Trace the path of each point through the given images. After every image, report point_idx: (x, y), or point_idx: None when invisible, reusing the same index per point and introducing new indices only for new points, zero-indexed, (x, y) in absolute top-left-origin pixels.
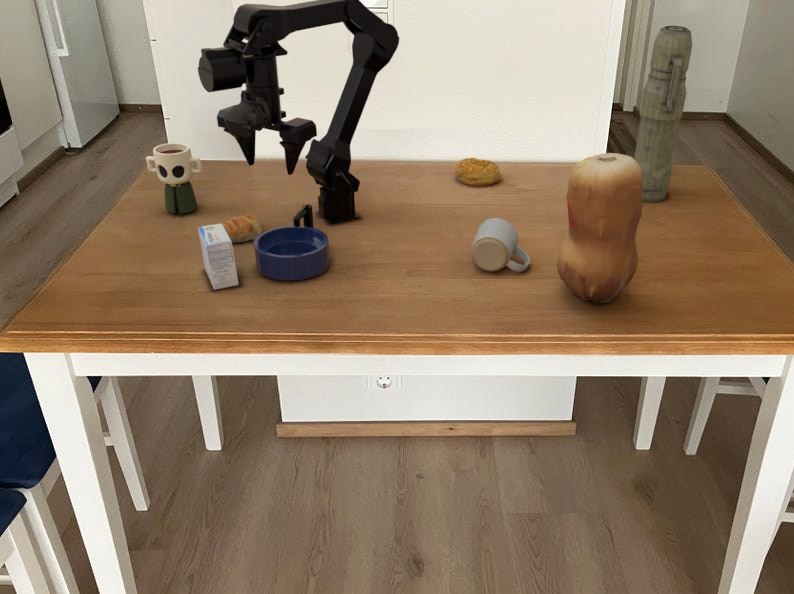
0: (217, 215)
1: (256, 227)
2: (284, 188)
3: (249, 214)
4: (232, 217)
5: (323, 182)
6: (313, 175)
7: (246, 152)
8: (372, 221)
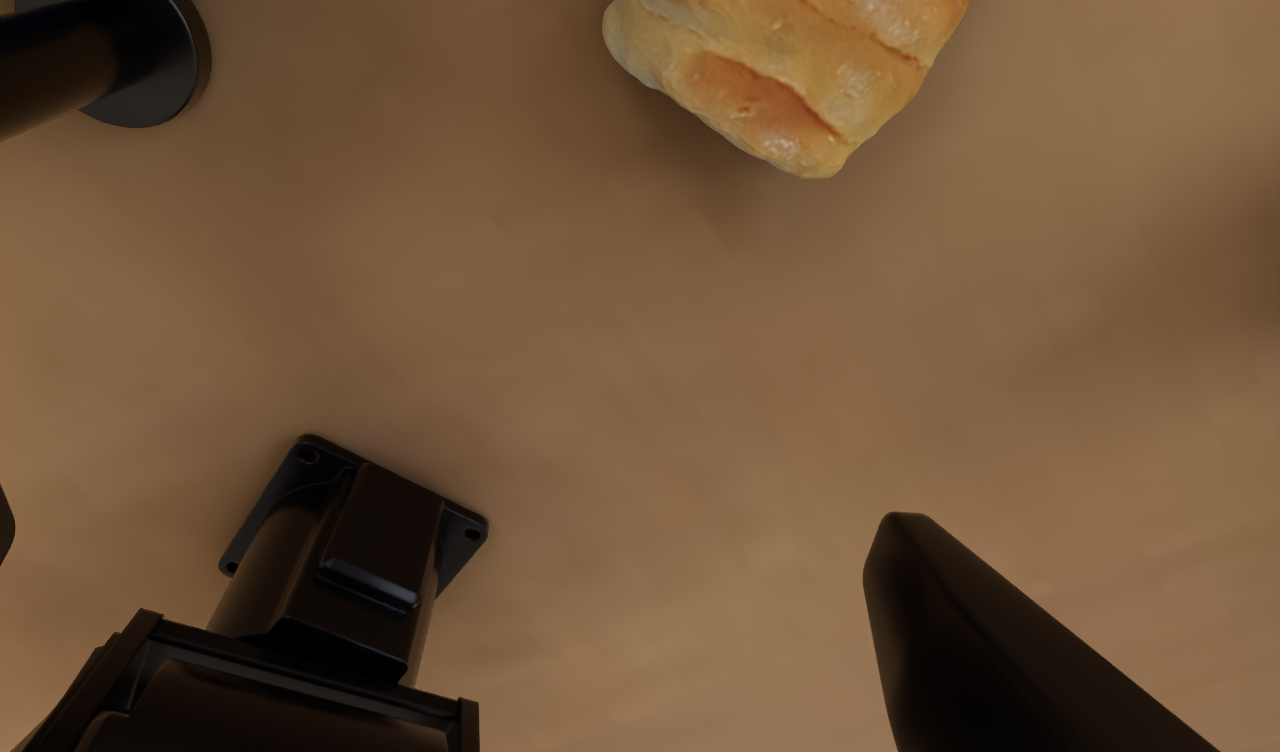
0: (1130, 236)
1: (637, 15)
2: (863, 680)
3: (782, 141)
4: (921, 31)
5: (199, 677)
6: (353, 734)
7: (1039, 701)
8: (133, 561)
